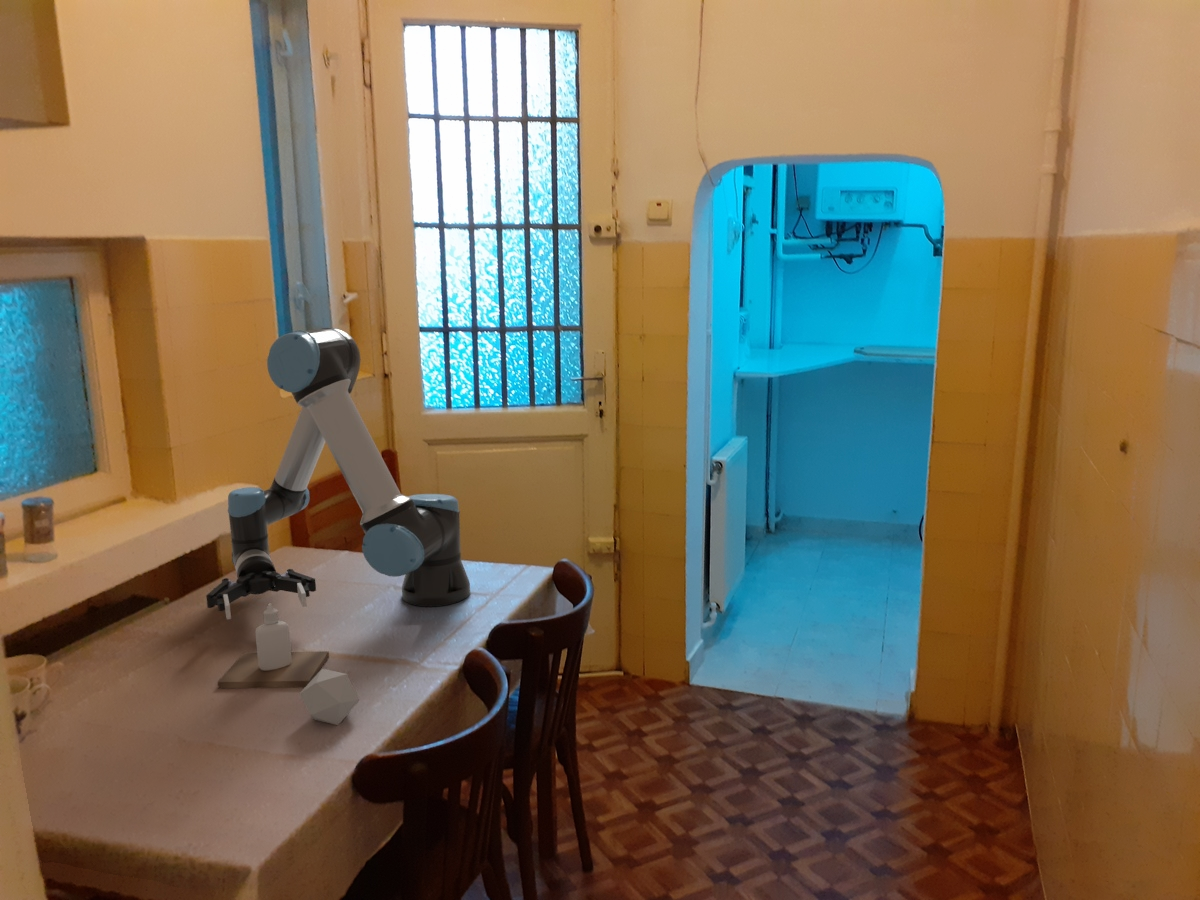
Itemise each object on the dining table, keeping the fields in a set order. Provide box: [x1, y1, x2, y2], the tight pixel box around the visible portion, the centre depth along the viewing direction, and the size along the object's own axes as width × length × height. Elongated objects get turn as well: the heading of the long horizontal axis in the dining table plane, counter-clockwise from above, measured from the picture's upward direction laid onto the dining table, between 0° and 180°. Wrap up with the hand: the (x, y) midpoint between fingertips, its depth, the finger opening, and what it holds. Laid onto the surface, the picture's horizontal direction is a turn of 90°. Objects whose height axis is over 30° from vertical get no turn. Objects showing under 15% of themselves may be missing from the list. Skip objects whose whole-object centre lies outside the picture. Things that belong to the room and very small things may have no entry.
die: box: [299, 668, 360, 726], centre depth 142 cm, size 8×9×10 cm
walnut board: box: [217, 650, 330, 689], centre depth 159 cm, size 16×12×1 cm
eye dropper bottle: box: [255, 602, 292, 671], centre depth 158 cm, size 4×6×12 cm
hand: (266, 606), depth 166 cm, fingers open, 13 cm apart
